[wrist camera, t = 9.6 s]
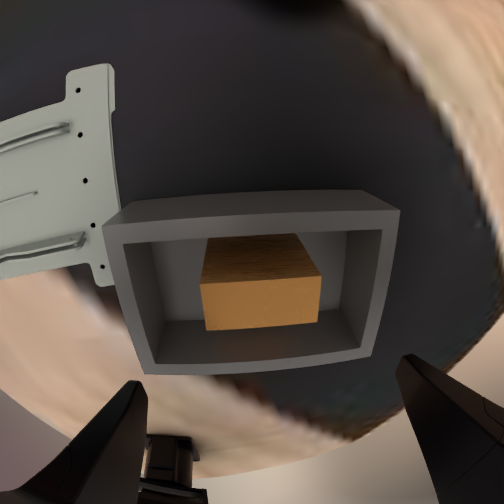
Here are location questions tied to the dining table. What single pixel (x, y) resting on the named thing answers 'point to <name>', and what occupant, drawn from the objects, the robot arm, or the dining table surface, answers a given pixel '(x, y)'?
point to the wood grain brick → (258, 282)
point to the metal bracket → (60, 180)
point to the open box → (243, 224)
